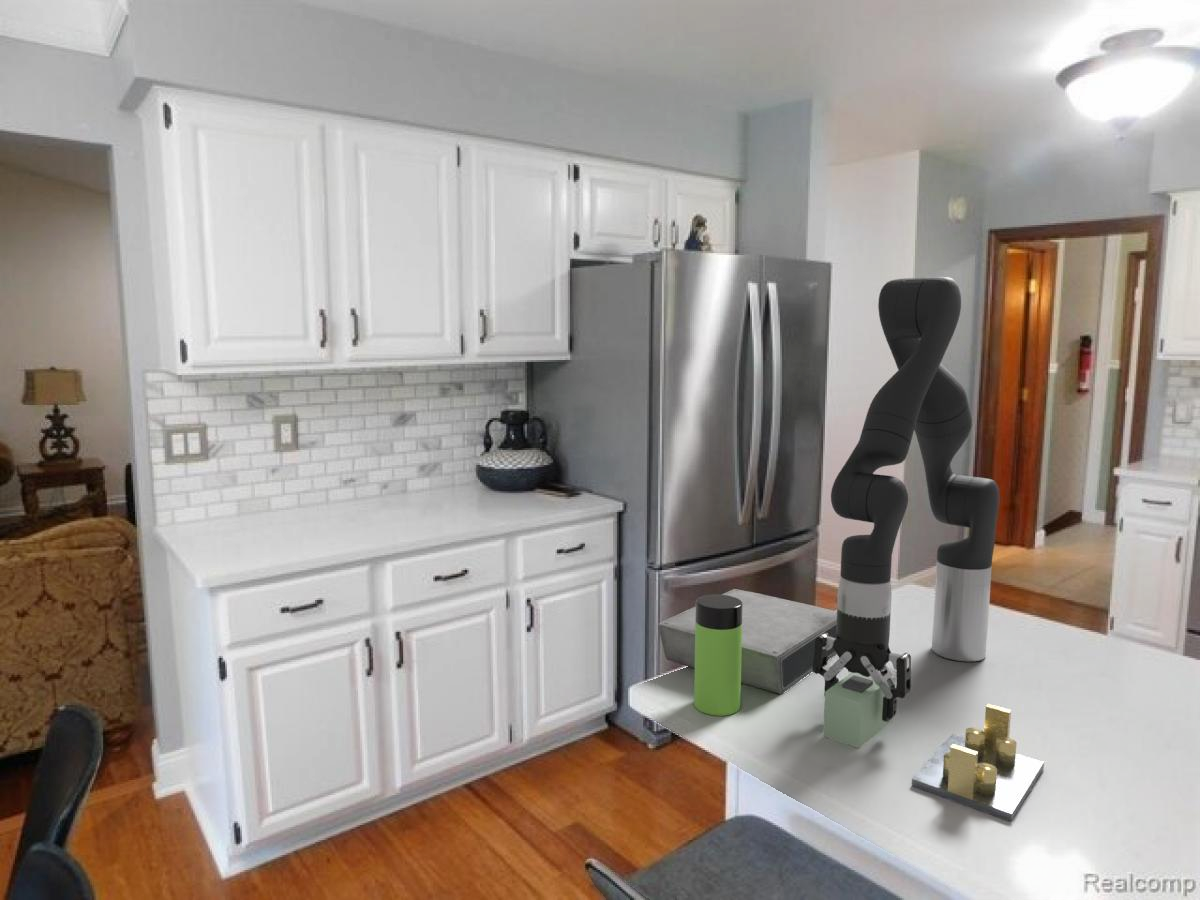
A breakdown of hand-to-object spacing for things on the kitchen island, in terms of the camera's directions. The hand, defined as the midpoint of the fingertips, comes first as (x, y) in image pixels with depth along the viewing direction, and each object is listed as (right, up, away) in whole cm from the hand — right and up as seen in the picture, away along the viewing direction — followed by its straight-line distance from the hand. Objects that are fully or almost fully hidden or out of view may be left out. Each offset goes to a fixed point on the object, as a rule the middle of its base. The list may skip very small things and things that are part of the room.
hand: (858, 710), depth 121 cm
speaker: (-10, +1, +28) cm, 30 cm away
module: (0, -3, 0) cm, 3 cm away
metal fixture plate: (+12, -4, -14) cm, 18 cm away
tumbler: (-20, -2, +7) cm, 22 cm away
